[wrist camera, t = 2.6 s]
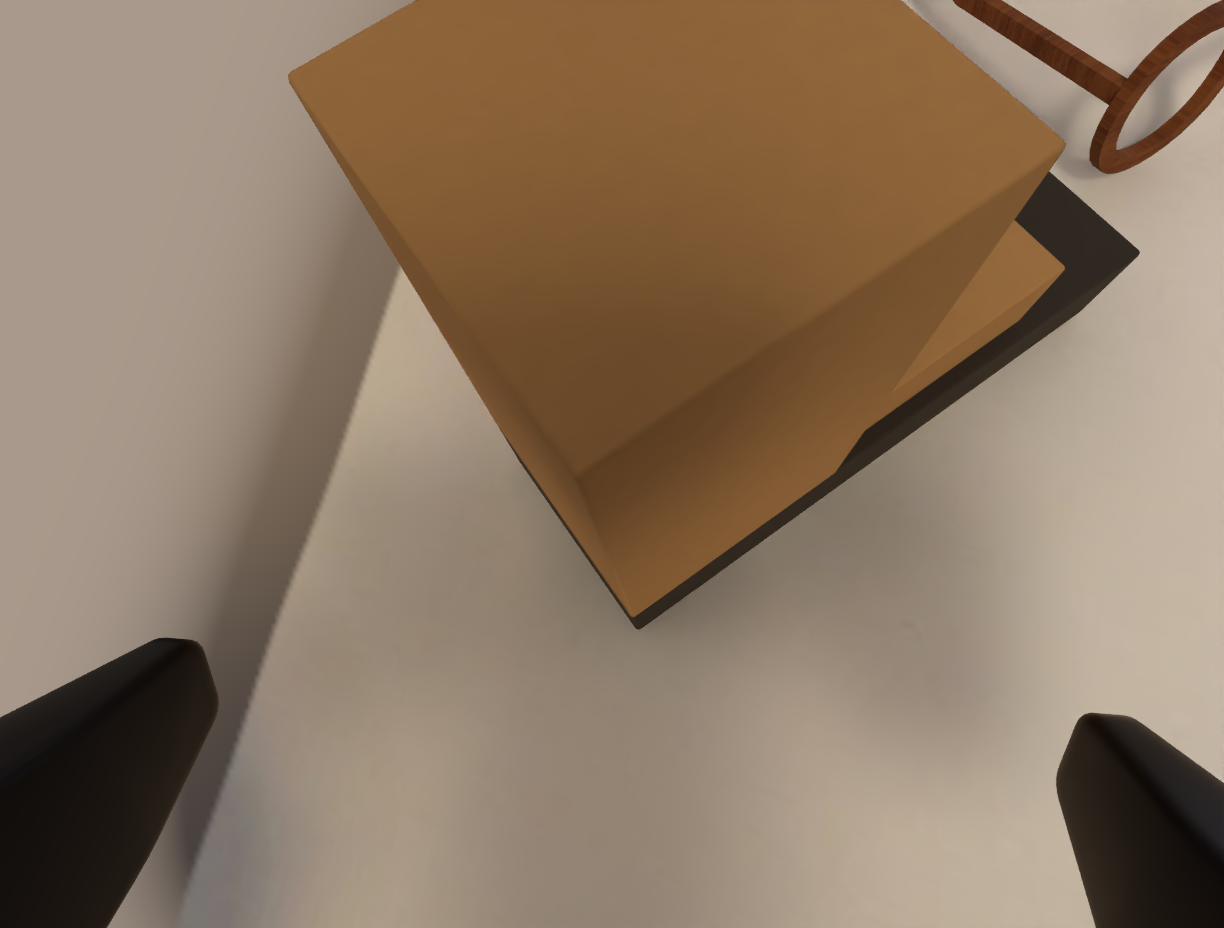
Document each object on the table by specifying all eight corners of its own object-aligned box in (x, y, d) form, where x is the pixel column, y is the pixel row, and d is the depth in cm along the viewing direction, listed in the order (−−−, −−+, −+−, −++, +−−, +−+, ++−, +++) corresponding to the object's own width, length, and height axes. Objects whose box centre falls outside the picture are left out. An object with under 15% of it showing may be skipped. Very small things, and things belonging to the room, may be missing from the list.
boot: (637, 631, 20) (576, 481, 7) (518, 459, 22) (283, 72, 8) (1081, 310, 22) (1716, -299, 9) (938, 176, 24) (1283, -500, 10)
